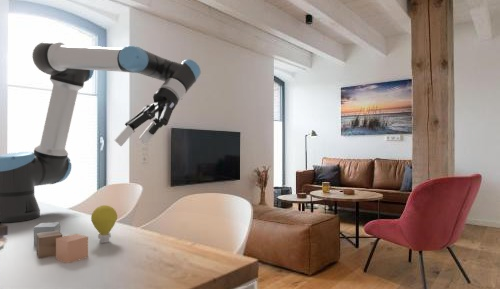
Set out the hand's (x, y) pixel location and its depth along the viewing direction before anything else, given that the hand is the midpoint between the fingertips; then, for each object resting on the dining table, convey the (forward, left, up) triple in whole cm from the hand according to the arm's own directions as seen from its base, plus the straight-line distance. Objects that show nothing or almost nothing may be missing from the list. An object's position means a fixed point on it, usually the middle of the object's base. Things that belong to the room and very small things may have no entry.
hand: (129, 142), depth 104 cm
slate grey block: (-2, -21, -28) cm, 35 cm away
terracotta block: (+15, -15, -28) cm, 35 cm away
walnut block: (+9, -20, -28) cm, 35 cm away
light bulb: (+4, -7, -28) cm, 29 cm away
